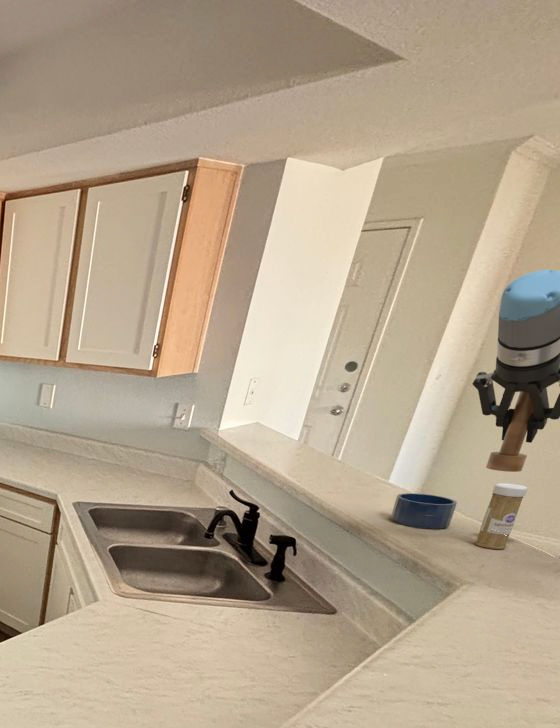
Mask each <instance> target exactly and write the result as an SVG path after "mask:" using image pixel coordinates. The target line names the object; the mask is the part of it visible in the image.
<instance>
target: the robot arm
mask: <svg viewBox="0 0 560 728" xmlns="http://www.w3.org/2000/svg"><path fill="white" fill-rule="evenodd" d="M497 327H498V328H497V342H496V343H497V345H496V359H495V369H494V370H493V372H490V373H487V372H486V371H480V372H478V373H477V375H476V376H475V378H474V380H473V382H472V386H473V387H474V388H475V389H476V390H477V392H478V398H479V402H480V407H481V408H480V409H481V414H482V415H484V416H486V417H487V416H494V417H495V426H496V427H498V428H502V431H501V441H503V440H504V437H505V434H506V432H507V429H508V426H509V423H510V420H511V417H512V414H513V411H514V408H510V407H511V405H512V403H513V399H514V397H515V395H516V393H520V392H529V397H530V398H531V400H532V406H533V414H532V416H531V417H530V419H529V421H528V430H527V432H526V436H525V443H528V444H530V443H531V444H532V443H533V441H534V440H535V437H536V435H537V434H538V430H542V431H543V429H544V428H545V427H546V425H547V423H548V419H551V420H554V421H555V420H559V419H560V392H559V394H558V396H557V398H556V401H555V402H554V405H553V407H550V401H549V396H548V389H547V388H549V387H550V386H553V385H554V384H556V383H559V384H558V386H559V387H560V269H557V270H552V269H550V268H549V269H541V270H536V271H532V272H528V273H525V274H524V275H521V276H519V277H517V278H516V279H514V280H513V281H511V282H510V283H509V284H508V285H507V286H506V287H505V288H504V290H503V291H502V294H501V298H500V304H499V311H498V326H497ZM494 383H496V384H497V385H499V386H500V387H501V388H503V389H504V391H503V393H502V396H501V399H500V402H499V405H498V404H497V399H496V393H495V392H496V391H495V386H494Z"/></svg>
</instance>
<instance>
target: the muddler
mask: <svg viewBox="0 0 560 728" xmlns="http://www.w3.org/2000/svg"><path fill="white" fill-rule="evenodd" d="M513 409H514V411H513V414H512V417H511V420H510V423H509V426H508V429H507V432H506V434H505V437H504V440H502V443H501V447H500V449H499V451H492V452H490V453H489V457H488V459H487V463H486V466H485V468H486V469H488V470H492V471H498V472H507V473H508V472H511V473H517V472H522V471H523V468H524V465H525V462H526V460H527V457H528V455H527V454H524V453H520V452H521V449H522V446H523V444H524V441H525V439H526V436H527V430H528V421H529V419H530V417H531V416H532V414H533V406H532V400H531V398H530V397H529V392H519V394H518V396H517V400H516V403H515V406H514V408H513Z"/></svg>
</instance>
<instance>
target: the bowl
mask: <svg viewBox="0 0 560 728" xmlns="http://www.w3.org/2000/svg"><path fill="white" fill-rule="evenodd" d="M457 504H458V501H456V500H455V499H452V498H449V497H445V496H441V495H434V494H426V493H416V492H415V493H413V492H412V493H411V492H409V493H399V494H397V496H396V498H395V502H394V504H393V508H392V511H391V515H390V518H391V519H392V521H393V522H395V523H397V524H399V525H403V526H406V527H412V528H418V529H426V530H427V529H428V530H440V529H441V530H442V529H445V528H447V527H450V526H451V522H452V519H453V515H454V513H455V510H456V507H457Z"/></svg>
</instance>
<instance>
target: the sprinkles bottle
mask: <svg viewBox="0 0 560 728" xmlns="http://www.w3.org/2000/svg"><path fill="white" fill-rule="evenodd" d="M527 491H528V487H527V486H525V485H521V484H516V483H509V482H508V483H507V482H506V483H505V482H502V483H501V482H500V483H496V484H494V487H493V489H492V493H491V494H492V496H491V498H490V501H489V503H488V506H487V508H486V511H485V514H484V516H483V519H482V523H481V526H480V528H479V533H478V535H477V538H476V540H475V542H474V544H475V545H476V546H479V547H481V548H484V549H489V550H490V549H491V550H504V549H506V547H507V542H508V540H509V536H510V534H511V533H512V530H513V528H514V526H515V525H514V524H515V523H516V519H517V515H518V513H519V510H520V507H521V505H522V501H523V499H524V497H525V496H526V494H527ZM492 529H493V530H492ZM495 530H496V531H495ZM498 531H499V532H498ZM504 534H505V535H507V536H505V535H504Z"/></svg>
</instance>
